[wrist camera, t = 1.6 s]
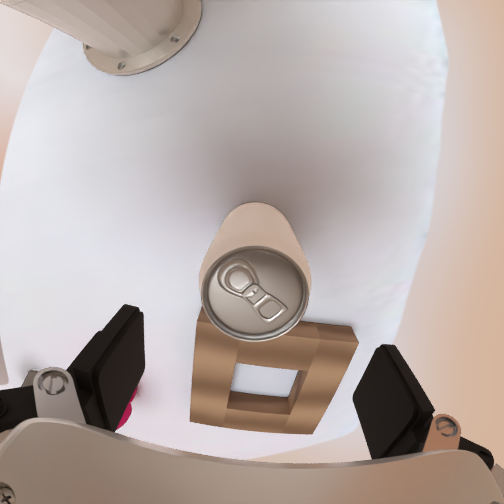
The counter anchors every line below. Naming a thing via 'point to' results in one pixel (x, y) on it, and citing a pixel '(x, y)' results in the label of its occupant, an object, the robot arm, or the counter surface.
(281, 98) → the counter surface
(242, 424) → the socket board
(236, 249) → the can
